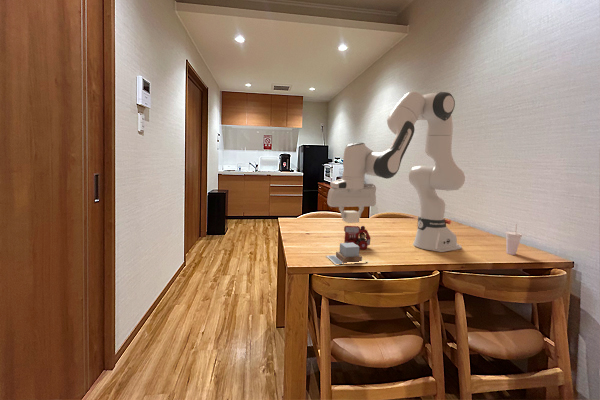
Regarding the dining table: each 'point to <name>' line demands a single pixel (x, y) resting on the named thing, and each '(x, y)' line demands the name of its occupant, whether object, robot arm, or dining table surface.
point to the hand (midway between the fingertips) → (350, 217)
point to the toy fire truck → (357, 236)
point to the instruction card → (334, 259)
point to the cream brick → (351, 217)
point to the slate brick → (349, 249)
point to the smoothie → (512, 241)
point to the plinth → (348, 258)
